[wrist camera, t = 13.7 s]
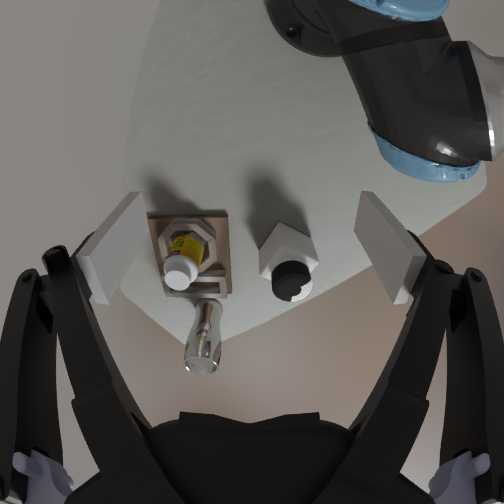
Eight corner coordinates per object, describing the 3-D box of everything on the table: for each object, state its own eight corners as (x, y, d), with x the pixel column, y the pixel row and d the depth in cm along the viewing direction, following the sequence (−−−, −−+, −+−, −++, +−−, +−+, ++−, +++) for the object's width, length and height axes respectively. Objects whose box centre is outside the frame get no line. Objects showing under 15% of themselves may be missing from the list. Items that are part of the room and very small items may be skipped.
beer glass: (213, 292, 56) (204, 352, 43) (231, 312, 59) (227, 371, 47) (187, 303, 58) (174, 361, 45) (206, 322, 61) (198, 378, 49)
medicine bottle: (258, 251, 50) (259, 297, 40) (278, 220, 46) (286, 263, 36) (290, 266, 52) (298, 312, 42) (312, 238, 48) (326, 282, 38)
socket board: (227, 214, 45) (226, 223, 43) (232, 290, 55) (231, 300, 53) (149, 216, 45) (143, 224, 43) (166, 288, 55) (162, 298, 53)
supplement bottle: (188, 223, 45) (174, 259, 37) (211, 244, 48) (203, 282, 39) (168, 241, 47) (152, 278, 39) (190, 260, 50) (179, 299, 41)
